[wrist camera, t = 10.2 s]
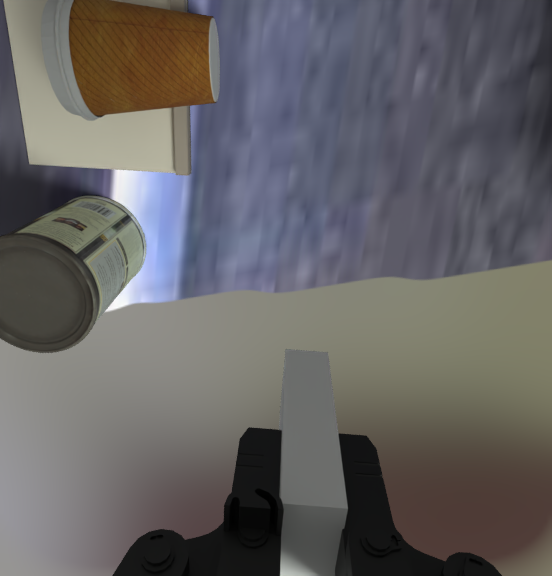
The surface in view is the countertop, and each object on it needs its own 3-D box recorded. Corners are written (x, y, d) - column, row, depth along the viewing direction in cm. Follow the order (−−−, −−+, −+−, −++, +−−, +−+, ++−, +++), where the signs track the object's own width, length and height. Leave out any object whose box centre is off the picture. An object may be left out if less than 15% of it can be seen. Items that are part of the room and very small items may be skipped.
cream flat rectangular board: (186, -74, 38) (182, -80, 36) (191, 172, 46) (188, 175, 44) (-6, -84, 38) (-18, -91, 37) (32, 163, 46) (24, 165, 44)
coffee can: (67, 290, 51) (-9, 358, 39) (39, 200, 47) (-57, 241, 34) (156, 282, 51) (109, 349, 38) (135, 190, 47) (75, 229, 34)
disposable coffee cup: (222, 127, 43) (95, 124, 43) (221, 13, 40) (85, 10, 40) (208, 118, 34) (45, 114, 34) (205, -30, 31) (30, -34, 31)
